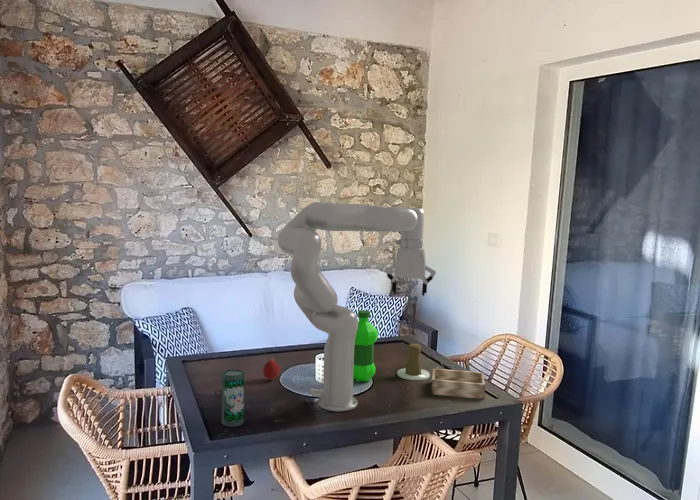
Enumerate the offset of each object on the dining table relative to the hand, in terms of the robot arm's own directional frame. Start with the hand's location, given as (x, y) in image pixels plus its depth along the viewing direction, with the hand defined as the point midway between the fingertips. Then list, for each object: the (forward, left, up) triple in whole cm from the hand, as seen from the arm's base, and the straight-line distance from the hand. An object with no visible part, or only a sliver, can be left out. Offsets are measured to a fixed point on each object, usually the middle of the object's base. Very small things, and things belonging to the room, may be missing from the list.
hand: (409, 294), depth 197 cm
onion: (-47, -4, -34) cm, 58 cm away
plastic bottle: (-16, +5, -34) cm, 37 cm away
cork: (+2, +15, -33) cm, 36 cm away
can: (-47, -41, -34) cm, 71 cm away
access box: (+18, +3, -33) cm, 38 cm away
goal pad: (+2, +15, -33) cm, 37 cm away
